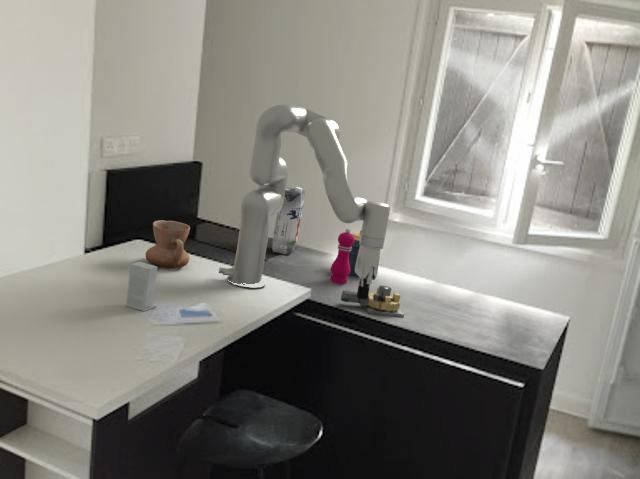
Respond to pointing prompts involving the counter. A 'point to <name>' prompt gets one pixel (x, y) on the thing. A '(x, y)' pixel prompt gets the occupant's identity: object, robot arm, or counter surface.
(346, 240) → the pepper mill
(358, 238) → the canister
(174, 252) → the ceramic jug
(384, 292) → the grey mounting base
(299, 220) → the juice carton
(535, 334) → the counter surface
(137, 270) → the skincare box
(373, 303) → the yellow mechanical assembly
